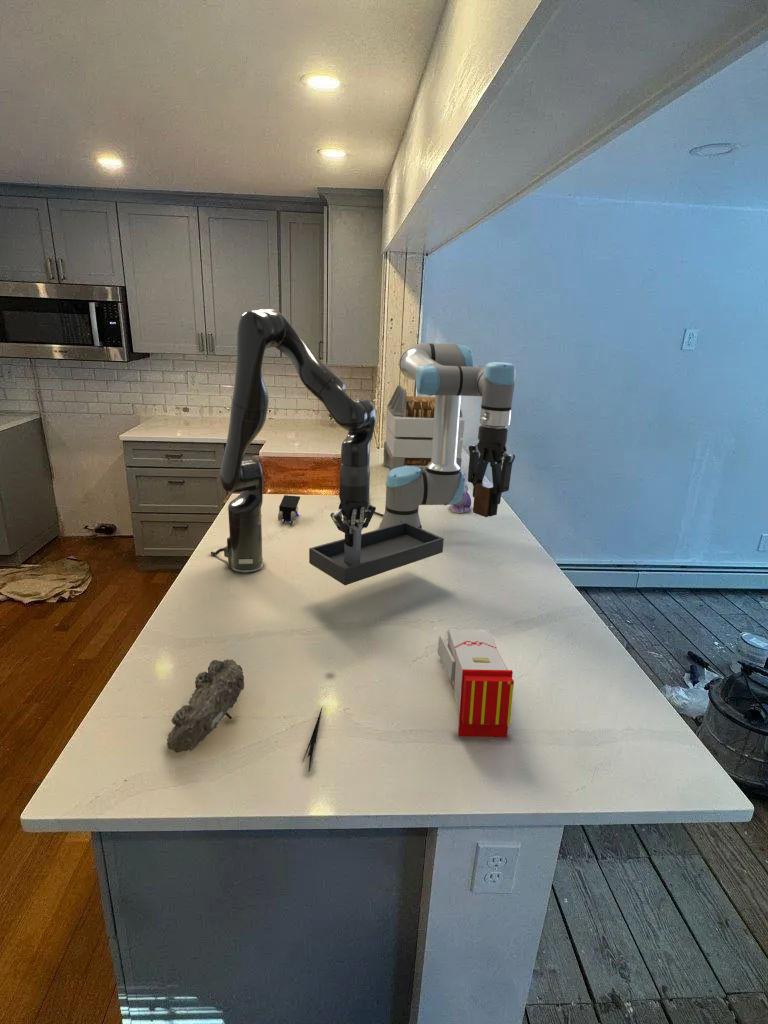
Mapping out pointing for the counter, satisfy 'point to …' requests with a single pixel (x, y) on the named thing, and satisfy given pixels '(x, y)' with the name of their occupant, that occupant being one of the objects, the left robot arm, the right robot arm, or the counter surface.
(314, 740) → the feather
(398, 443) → the white wooden crate
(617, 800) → the counter surface
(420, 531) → the tray
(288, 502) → the figurine character
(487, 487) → the block
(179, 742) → the fossil
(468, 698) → the toy
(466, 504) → the figurine
